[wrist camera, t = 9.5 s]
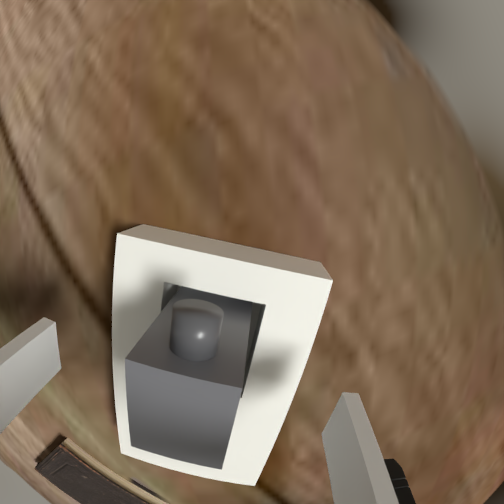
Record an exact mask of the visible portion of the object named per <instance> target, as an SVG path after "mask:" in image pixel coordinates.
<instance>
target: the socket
mask: <svg viewBox="0 0 504 504" xmlns="http://www.w3.org/2000/svg"><path fill="white" fill-rule="evenodd" d="M332 282H333V280H332V278H331V277H330V275H329V274H328V272H327V271H326V269H325V268H324V266H323V265H322V263H321V262H317V261H313V260H308V259H304V258H299V257H294V256H290V255H285V254H281V253H276V252H271V251H267V250H262V249H257V248H253V247H248V246H244V245H239V244H234V243H230V242H225V241H220V240H216V239H211V238H206V237H202V236H197V235H192V234H187V233H183V232H178V231H173V230H169V229H164V228H159V227H154V226H150V225H145V224H142V225H139V226H136V227H133V228H131V229H128V230H125V231H122V232H120V233H117V239H116V250H115V262H114V277H113V299H112V360H113V381H114V396H115V407H116V417H117V426H118V434H119V442H120V449H121V453H122V454H125V455H128V456H130V457H133V458H136V459H139V460H142V461H145V462H148V463H151V464H155V465H158V466H161V467H165V468H168V469H172V470H176V471H179V472H183V473H187V474H192V475H196V476H200V477H205V478H210V479H215V480H220V481H226V482H232V483H238V484H245V485H252V486H255V484H256V482H257V480H258V478H259V476H260V474H261V472H262V469H263V467H264V465H265V463H266V461H267V459H268V456H269V454H270V452H271V450H272V447H273V445H274V443H275V441H276V438H277V436H278V434H279V431H280V429H281V426H282V424H283V422H284V419H285V417H286V414H287V412H288V409H289V407H290V404H291V402H292V399H293V397H294V394H295V392H296V389H297V386H298V384H299V381H300V378H301V376H302V373H303V370H304V368H305V365H306V362H307V359H308V356H309V354H310V351H311V348H312V345H313V342H314V339H315V336H316V333H317V330H318V327H319V324H320V321H321V318H322V315H323V312H324V308H325V305H326V302H327V299H328V295H329V292H330V289H331V285H332ZM181 286H184V287H188V288H193V289H197V290H201V291H205V292H210V293H214V294H219V295H223V296H228V297H232V298H237V299H241V300H246V301H251V302H253V303H252V312H251V321H250V329H249V338H248V346H247V355H246V363H245V372H244V380H243V388H242V392H241V396H240V400H239V404H238V409H237V413H236V416H235V420H234V424H233V428H232V432H231V436H230V440H229V444H228V448H227V452H226V455H225V459H224V463H223V467H222V470H220V469H215V468H210V467H205V466H200V465H196V464H191V463H187V462H183V461H179V460H175V459H172V458H168V457H164V456H161V455H157V454H154V453H151V452H147V451H144V450H141V449H138V448H135V447H132V446H131V442H130V433H129V423H128V411H127V397H126V378H125V358H126V357H127V355H128V354H129V353H130V351H131V350H132V349H133V347H134V346H135V345H136V343H137V342H138V341H139V340H140V338H141V337H142V336H143V334H144V333H145V332H146V331H147V329H148V328H149V327H150V325H151V324H152V323H153V322H154V320H155V319H156V318H157V316H158V315H159V314H160V313H161V311H162V310H163V309H164V308H165V306H166V305H167V304H168V303H169V301H170V300H171V299H172V297H173V296H174V295H175V294H176V292H177V291H178V290H179V289H180V287H181Z"/></svg>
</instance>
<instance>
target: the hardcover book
mask: <svg viewBox="0 0 504 504" xmlns="http://www.w3.org/2000/svg"><path fill="white" fill-rule="evenodd" d="M35 470H36V471H37V472H39V473H40V474H41V475H42V476H44V477H45V478H46V479H47V480H49V481H50V482H51V483H53V484H54V485H55V486H57V487H58V488H59V489H61V490H62V491H63V492H65V493H66V494H68V495H69V496H70V497H72V498H73V499H75V500H76V501H78V502H79V503H81V504H169V503H167V502H166V501H165V500H164V499H163V498H162V497H161V496H160V495H158V494H157V493H155V492H153V491H151V490H150V489H148V488H146V487H144V486H143V485H141V484H139V483H138V482H136V481H135V480H133V479H130V483H129V482H128V481H126V480H125V479H123V478H122V477H120V476H119V475H117V474H115V473H114V472H112V471H111V470H110V469H108V468H107V467H105V466H104V465H102V464H101V463H100V462H98V461H97V460H95V459H94V458H93V457H91V456H90V455H89V454H87V453H86V452H85V451H84V450H82V449H81V448H80V447H78V446H77V445H76V444H75V443H73V442H72V441H71V440H70V439H69V438H66V439H65V440H64V441H63V442H62V443H61V444H60V445H59V446H58V447H57V448H56V449H54V450H53V451H52V452H51V453H50V454H49V455H48V456H47V457H46V458H45V459H44V460H43V461H42V462H40V463H38V464H37V466H36V467H35Z"/></svg>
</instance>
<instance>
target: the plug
mask: <svg viewBox="0 0 504 504" xmlns="http://www.w3.org/2000/svg"><path fill="white" fill-rule="evenodd" d="M252 303H253V302H251V301H246V300H241V299H237V298H232V297H228V296H223V295H219V294H214V293H210V292H205V291H201V290H197V289H193V288H188V287H184V286H181V287H180V289H179V290H178V291H177V292H176V294H175V295H174V296H173V297H172V299H171V300H170V301H169V303H168V304H167V305H166V306H165V308H164V309H163V310H162V311H161V313H160V314H159V315H158V316H157V318H156V319H155V320H154V322H153V323H152V324H151V325H150V327H149V328H148V329H147V331H146V332H145V333H144V334H143V336H142V337H141V338H140V340H139V341H138V342H137V343H136V345H135V346H134V347H133V349H132V350H131V351H130V353H129V354H128V355H127V357H126V358H125V378H126V397H127V411H128V423H129V433H130V442H131V446H132V447H135V448H138V449H141V450H144V451H147V452H151V453H154V454H157V455H161V456H164V457H168V458H172V459H175V460H179V461H183V462H187V463H191V464H196V465H200V466H205V467H210V468H215V469H220V470H222V467H223V463H224V459H225V455H226V452H227V448H228V444H229V440H230V436H231V432H232V428H233V424H234V420H235V416H236V413H237V409H238V404H239V400H240V396H241V392H242V388H243V380H244V372H245V363H246V355H247V346H248V338H249V329H250V321H251V312H252Z"/></svg>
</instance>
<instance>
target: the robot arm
mask: <svg viewBox="0 0 504 504" xmlns="http://www.w3.org/2000/svg"><path fill="white" fill-rule="evenodd" d="M60 369H61V363H60V356H59V349H58V340H57V331H56V322H54V321H52V320H50V319H47V318H45V317H43V318H42V319H41V320H39V321H38V322H36V323H35V324H33V325H32V326H31V327H29V328H28V329H26V330H25V331H24V332H22V333H21V334H19V335H18V336H17V337H15V338H14V339H13V340H11V341H10V342H9V343H7V344H6V345H5V346H3V347H2V348H1V349H0V434H1V433H2V431H3V430H4V429H5V428H6V427H7V426H8V425H9V424H10V422H11V421H12V420H13V419H14V418H15V417H16V416H17V415H18V414H19V413H20V411H21V410H22V409H23V408H24V407H25V406H26V405H27V404H28V403H29V402H30V401H31V400H32V398H33V397H34V396H35V395H36V394H37V393H38V392H39V391H40V390H41V389H42V388H43V387H44V386H45V385H46V384H47V383H48V382H49V381H50V380H51V379H52V377H53V376H54V375H55V374H56V373H57V372H58V371H59V370H60ZM322 439H323V444H324V449H325V455H326V460H327V465H328V471H329V477H330V482H331V488H332V494H333V499H334V504H416V503H415V500H414V498H413V495H412V493H411V490H410V488H409V487H408V486H409V485H408V482H407V480H406V479H405V478H406V477H405V475H404V472H403V470H402V467H401V466H400V465H399V464H398V463H397V462H396V461H395V460H394V459H383V457H382V454H381V451H380V448H379V446H378V443H377V440H376V438H375V435H374V432H373V430H372V427H371V425H370V422H369V419H368V417H367V414H366V412H365V409H364V406H363V404H362V401H361V399H360V396H359V394H358V393H346V392H343V393H342V395H341V397H340V399H339V401H338V403H337V405H336V407H335V409H334V411H333V413H332V415H331V417H330V419H329V421H328V423H327V425H326V426H325V428H324V430H323V432H322Z"/></svg>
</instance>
